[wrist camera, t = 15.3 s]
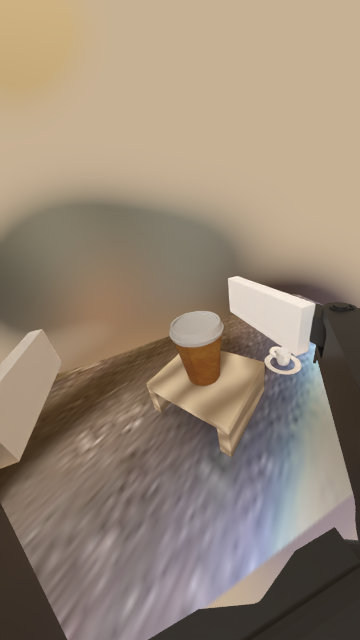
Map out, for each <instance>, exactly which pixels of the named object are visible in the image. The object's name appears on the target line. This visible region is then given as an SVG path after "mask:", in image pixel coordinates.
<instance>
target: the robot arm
mask: <svg viewBox="0 0 360 640" xmlns="http://www.w3.org/2000/svg"><path fill="white" fill-rule="evenodd" d="M228 285H229V301H230V311H231V312H232V313H234V314H235V315H237V316H238V317H239V318H241V319H242V320H244V321H245V322H247V323H248V324H250V325H251V326H253V327H254V328H256V329H257V330H259V331H260V332H261V333H263V334H264V335H266V336H267V337H269V338H270V339H272V340H273V341H275V342H276V343H278V344H279V345H281V346H282V347H284V348H285V349H286V350H288V351H289V352H291V353H292V354H294V355H295V356H298V355H300V354H303V353H305V352H308V349H309V343H310V342H312V343H314V344H316V349H315V355H314V360H313V363H316V360H318V364H319V368H320V371H321V375H322V379H323V382H324V386H325V390H326V394H327V397H328V401H329V405H330V409H331V412H332V416H333V420H334V423H335V427H336V431H337V435H338V438H339V442H340V446H341V450H342V453H343V457H344V461H345V464H346V468H347V472H348V476H349V479H350V483H351V487H352V491H353V494H354V498H355V505H356V517H355V521H356V530H357V535H358V540H346V539H345V540H344V539H343V538H342V537H341V535H340V534H339V532H338V531H337V530H336V528H333V529H331V530H329V531H328V532H326V533H324V534H323V535H321V536H319V537H318V538H316V539H314V540H313V541H311V542H309V543H308V544H306V545H305V546H303V547H301V548H299V549H298V550H296V551H295V552H294V554H293V555H292V556H291V558H290V559H289V561H288V562H287V564H286V565H285V566H284V568H283V569H282V571H281V572H280V574H279V575H278V576H277V578H276V579H275V581H274V582H273V584H272V585H271V587H270V588H269V590H268V591H267V592H266V594H265V595H264V597H263V598H262V599H261V601H259V602H258V603H255V604H249V605H239V606H228V607H217V608H207V609H198V610H197V611H195V612H193V613H192V614H190V615H188V616H187V617H185V618H183V619H182V620H180V621H178V622H177V623H175V624H173V625H172V626H170V627H168V628H167V629H165V630H163V631H162V632H160V633H158V634H157V635H155V636H154V637H152V638H150V639H149V640H360V308H359V309H358V308H357V307H356V306H354V305H351V304H347V303H338V302H335V303H328V304H325V305H324V306H323V305H320V304H317V303H314V302H311V301H308V300H306V299H303V298H300V297H297V296H294V295H291V294H287V293H284V292H281V291H278V290H275V289H273V288H269V287H267V286H264V285H260V284H258V283H255V282H252V281H250V280H247V279H244V278H241V277H238V276H236V277H232V278H228ZM61 364H62V362H61V361H60V359H59V357H58V355H57V354H56V352H55V350H54V348H53V347H52V345H51V343H50V342H49V340H48V338H47V336H46V335H45V333H44V332H43V330H42V329H40V330H36V331H33V332H29V333H28V334H27V335H26V337H25V338H24V339H23V340H22V341H21V342H20V343H19V344H18V345H17V346H16V348H15V349H14V350H13V351H12V352H11V353H10V354H9V355H8V356H7V358H6V359H5V360H4V361H3V362H2V363H1V364H0V469H1V468H3V467H6V466H9V465H11V464H14V463H17V462H19V461H20V459H21V456H22V454H23V452H24V449H25V447H26V445H27V443H28V440H29V438H30V436H31V433H32V431H33V429H34V426H35V424H36V422H37V419H38V417H39V415H40V412H41V410H42V408H43V405H44V403H45V401H46V398H47V396H48V394H49V391H50V389H51V387H52V384H53V382H54V380H55V378H56V375H57V373H58V371H59V368H60V366H61ZM0 640H67V638H66V636H65V634H64V632H63V630H62V628H61V626H60V624H59V622H58V620H57V618H56V616H55V614H54V612H53V610H52V608H51V605H50V603H49V601H48V599H47V597H46V595H45V593H44V591H43V589H42V587H41V585H40V583H39V581H38V579H37V577H36V575H35V573H34V571H33V569H32V567H31V564H30V562H29V560H28V558H27V556H26V554H25V552H24V550H23V548H22V546H21V544H20V542H19V540H18V538H17V536H16V534H15V532H14V530H13V528H12V526H11V524H10V521H9V519H8V517H7V515H6V513H5V511H4V509H3V507H2V505H1V503H0Z"/></svg>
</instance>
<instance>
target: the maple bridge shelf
mask: <svg viewBox="0 0 360 640" xmlns="http://www.w3.org/2000/svg"><path fill="white" fill-rule="evenodd" d="M264 374H265V362H261V361H257V360H254V359H250V358H247V357H243V356H240V355H236V354H232V353H229V352H225V351H222V350H221V354H220V376H219V378H218V380H217V381H216V382H215V383H213V384H211V385H208V386H198V385H195V384H193V383H192V382H191V381H190V380H189V378H188V375H187V373H186V370H185V368H184V365H183V363H182V360H181V358H180V355H179V354H178V355H177V356H176V357H175V358H174V359H173V360H172V361H170V362H169V363H168V364H167V365H166V366H165V367H164V368H163V369H162V370H161V371H160V372H159V373H157V374H156V375H155V376H154V377H153V378H152V379H151V380H150V381H149V382H148V383H147V387H148V390H149V393H150V396H151V398H152V401H153V404H154V407H155V409H157V410H158V411H160V412H161V413H162V412H163V411H164V409H165V408H166V407H167V406H168V405H169V404H170V403H171V402H172V403H174V404H175V405H177V406H179V407H181V408H182V409H184V410H186V411H188V412H189V413H191V414H193V415H195V416H196V417H198V418H200V419H202V420H203V421H205V422H207V423H209V424H211V425H212V426H214V427H216V428H217V432H218V438H219V444H220V451H222V452H224V453H225V454H227V455H228V456H230V457H231V458H232V456H233V454H234V452H235V450H236V447H237V445H238V443H239V441H240V439H241V437H242V435H243V433H244V431H245V429H246V427H247V425H248V422H249V420H250V418H251V416H252V414H253V412H254V410H255V408H256V406H257V404H258V402H259V400H260V397H261V395H262V393H263V391H264Z"/></svg>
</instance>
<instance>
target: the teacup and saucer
mask: <svg viewBox="0 0 360 640" xmlns="http://www.w3.org/2000/svg"><path fill="white" fill-rule="evenodd" d="M275 351H276V353H275ZM269 352H270V355H268V356H267V357H266V358H265V365H266V366H267V367H268V368H269V369H270V370H272V371H273V372H276V373H279V374H294V373H297V372H298V371H299V370H300V369H301V363H300V361H299V360H298V359H297V358H296V357H294V356H292V355H291V352H289V351H288V350H286V349H285V348H284V347H272V348H271V349H270V350H269ZM273 357H274V358H277V362H278V364H279V365H281V366H287V365H288V363H289V361H290V359H292V360H293V361H294V363H295V367H294V368H293V369H292V370H289V371H281V370H278V369H276V368H274V367H273V366H272V365H271V364H270V360H271V359H272V358H273Z"/></svg>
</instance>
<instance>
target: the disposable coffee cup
mask: <svg viewBox="0 0 360 640" xmlns="http://www.w3.org/2000/svg"><path fill="white" fill-rule="evenodd" d="M223 328H224V326H223V323H222V321H221V320H220V318H219V316H218V315H217V314H215V313H213V312H209V311H194V312H189V313H186V314H183V315H181V316H179V317H177V318H176V319H174V320H173V321H172V323H171V325H170V331H169V336H170V338H171V339H172V340H173V342H174V343H175V345H176V348H177V350H178V353H179V355H180V358H181V360H182V363H183V365H184V368H185V370H186V373H187V375H188V378H189V380H190V381H191V382H192V383H193V384H195V385H198V386H208V385H211V384H213V383H215V382H216V381H217V380H218V378H219V376H220V354H221V334H222V331H223Z"/></svg>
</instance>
